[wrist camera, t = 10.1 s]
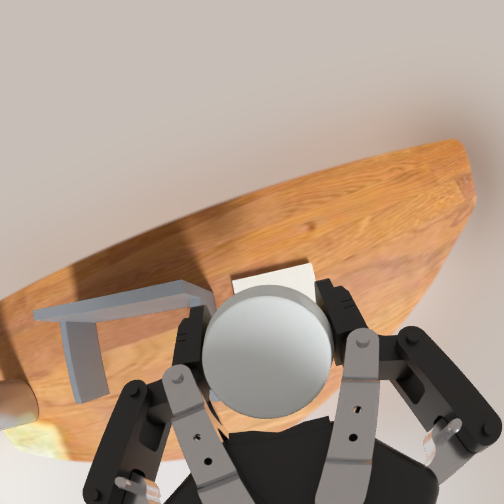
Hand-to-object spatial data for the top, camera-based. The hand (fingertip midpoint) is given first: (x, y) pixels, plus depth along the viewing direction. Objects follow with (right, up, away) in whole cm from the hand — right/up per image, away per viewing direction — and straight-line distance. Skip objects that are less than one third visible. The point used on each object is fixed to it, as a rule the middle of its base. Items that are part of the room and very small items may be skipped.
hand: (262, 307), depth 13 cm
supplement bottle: (+1, -3, +4) cm, 5 cm away
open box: (-14, -11, +20) cm, 27 cm away
